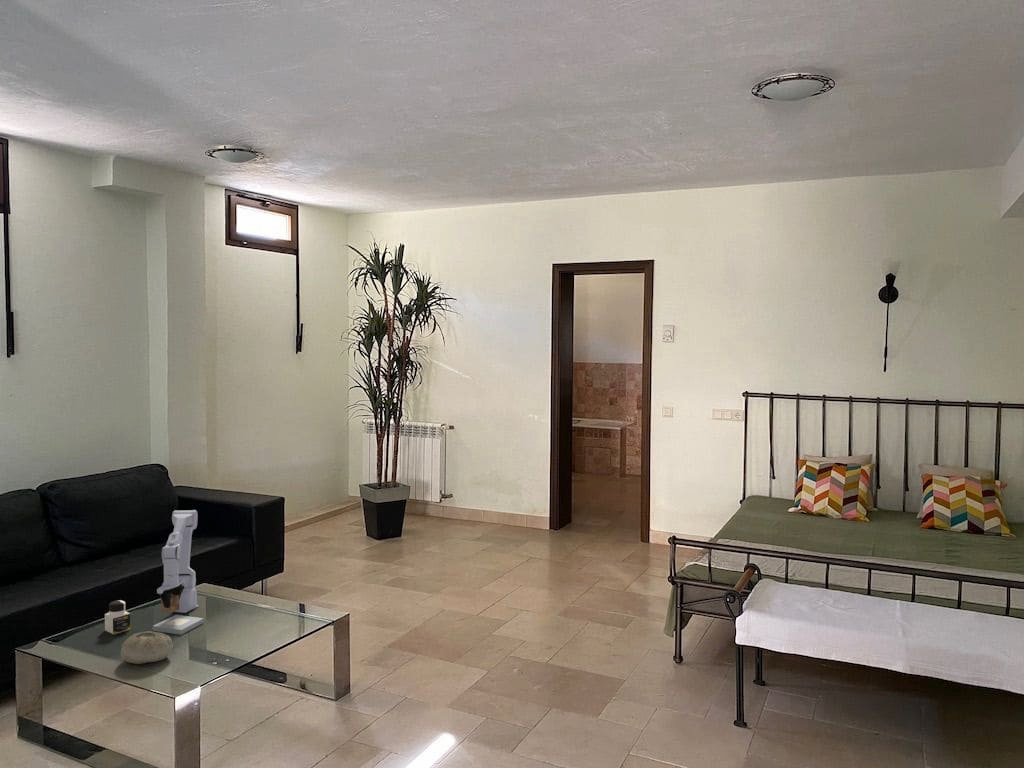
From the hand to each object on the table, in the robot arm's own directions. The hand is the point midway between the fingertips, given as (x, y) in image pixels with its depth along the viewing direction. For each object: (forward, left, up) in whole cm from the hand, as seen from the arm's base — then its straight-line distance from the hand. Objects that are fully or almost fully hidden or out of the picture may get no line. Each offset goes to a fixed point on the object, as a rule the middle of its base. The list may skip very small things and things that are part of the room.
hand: (171, 605), depth 333 cm
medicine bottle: (+12, -17, -9) cm, 22 cm away
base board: (+1, +4, -9) cm, 9 cm away
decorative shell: (+33, +16, -9) cm, 37 cm away
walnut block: (0, -1, -2) cm, 2 cm away
